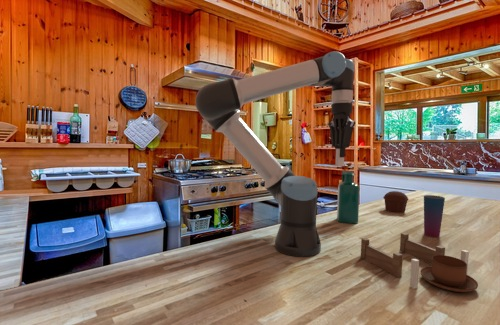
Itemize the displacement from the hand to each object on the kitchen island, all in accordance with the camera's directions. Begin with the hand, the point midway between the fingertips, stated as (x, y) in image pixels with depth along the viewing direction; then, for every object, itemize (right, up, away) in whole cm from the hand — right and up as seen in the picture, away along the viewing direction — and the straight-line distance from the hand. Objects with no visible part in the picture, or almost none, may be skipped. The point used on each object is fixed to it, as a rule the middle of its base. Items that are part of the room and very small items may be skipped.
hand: (339, 165), depth 109 cm
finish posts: (+15, -30, -35) cm, 48 cm away
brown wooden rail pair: (+11, -29, -24) cm, 39 cm away
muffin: (+41, -24, +40) cm, 62 cm away
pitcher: (+10, -25, +21) cm, 34 cm away
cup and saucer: (+16, -30, -36) cm, 49 cm away
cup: (+36, -27, +2) cm, 45 cm away
